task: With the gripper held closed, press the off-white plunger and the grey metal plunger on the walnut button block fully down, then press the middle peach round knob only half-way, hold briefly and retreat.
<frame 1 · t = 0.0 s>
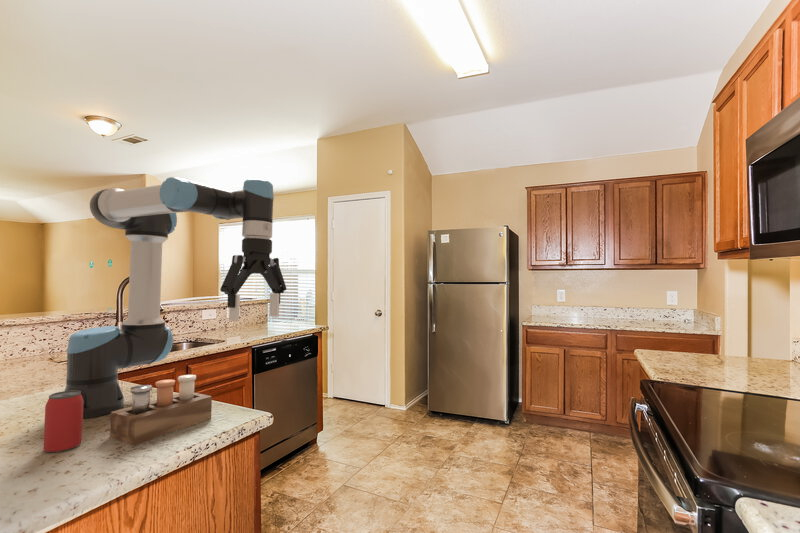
hand: (255, 318, 103), 28 cm above the counter, fingers open, 13 cm apart
plunger white: (186, 389, 106), point 8 cm above the counter, slide at 0.0 cm
button block: (163, 427, 100), on the counter
peach round knob: (165, 394, 101), point 8 cm above the counter, slide at 0.0 cm
beer can: (63, 448, 88), on the counter
plunger grey: (140, 401, 95), point 8 cm above the counter, slide at 0.0 cm
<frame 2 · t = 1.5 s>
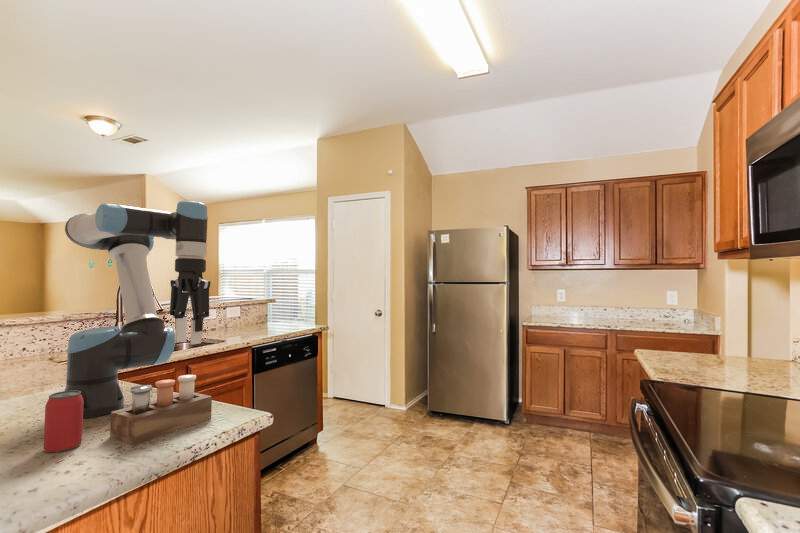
hand: (188, 342, 107), 21 cm above the counter, fingers open, 6 cm apart
nothing on the counter moved.
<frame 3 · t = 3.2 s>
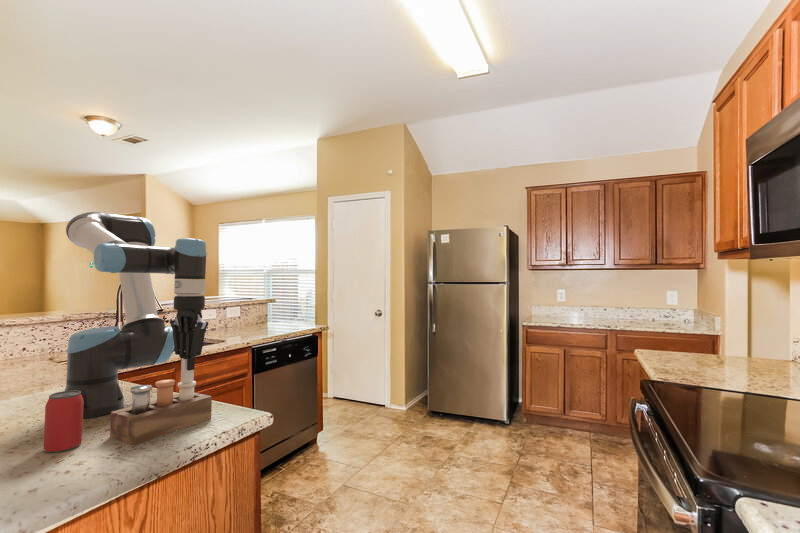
hand: (187, 381, 106), 10 cm above the counter, fingers closed
plunger white: (186, 395, 106), point 7 cm above the counter, slide at 1.6 cm, touching gripper
everything else where it was.
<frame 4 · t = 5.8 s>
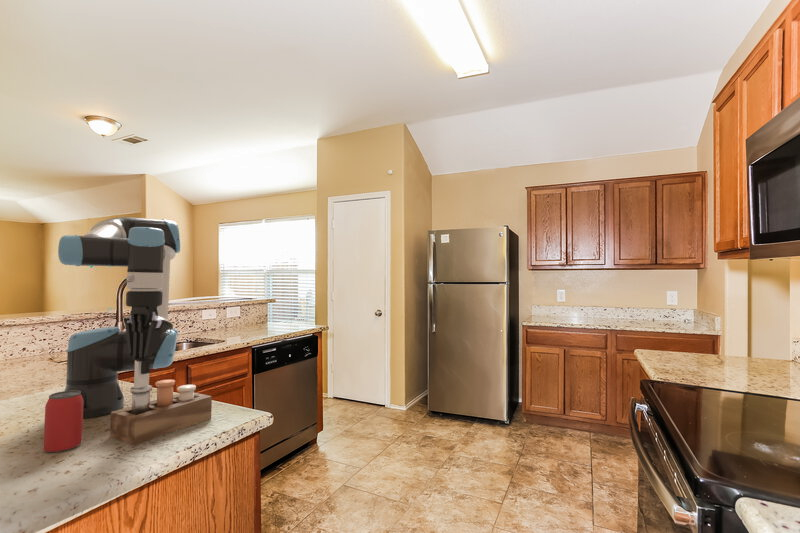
hand: (141, 386, 95), 12 cm above the counter, fingers closed
plunger white: (186, 399, 106), point 5 cm above the counter, slide at 2.8 cm
plunger grey: (140, 401, 95), point 8 cm above the counter, slide at 0.1 cm, touching gripper
everything else where it was.
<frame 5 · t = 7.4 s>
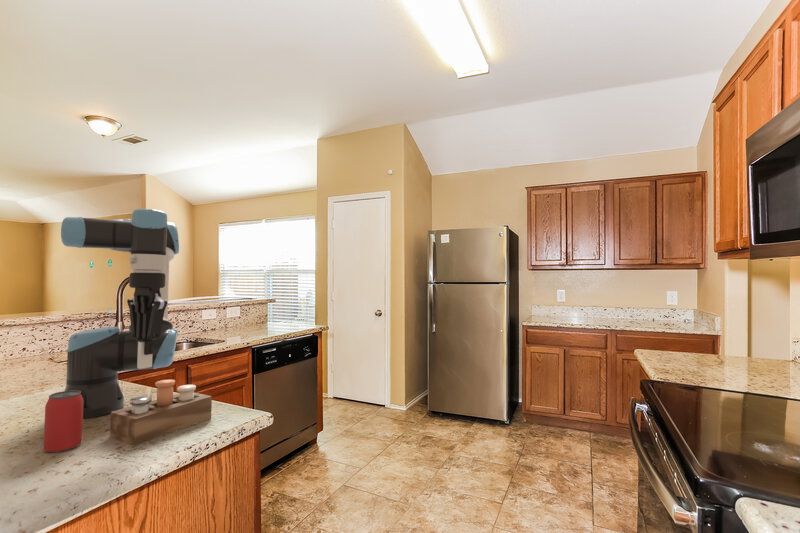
hand: (144, 367, 96), 16 cm above the counter, fingers closed
plunger grey: (140, 412, 95), point 5 cm above the counter, slide at 2.8 cm
everything else where it was.
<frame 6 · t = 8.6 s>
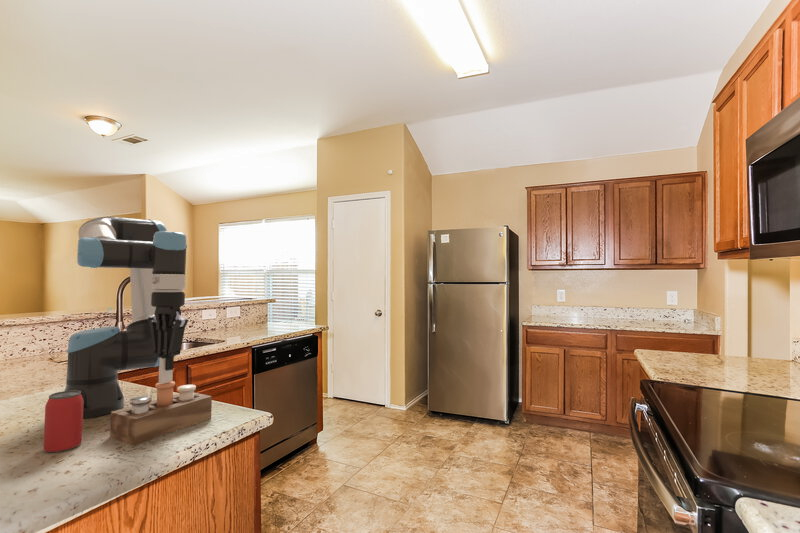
hand: (165, 382, 101), 11 cm above the counter, fingers closed
peach round knob: (165, 396, 101), point 8 cm above the counter, slide at 0.4 cm, touching gripper
everything else where it was.
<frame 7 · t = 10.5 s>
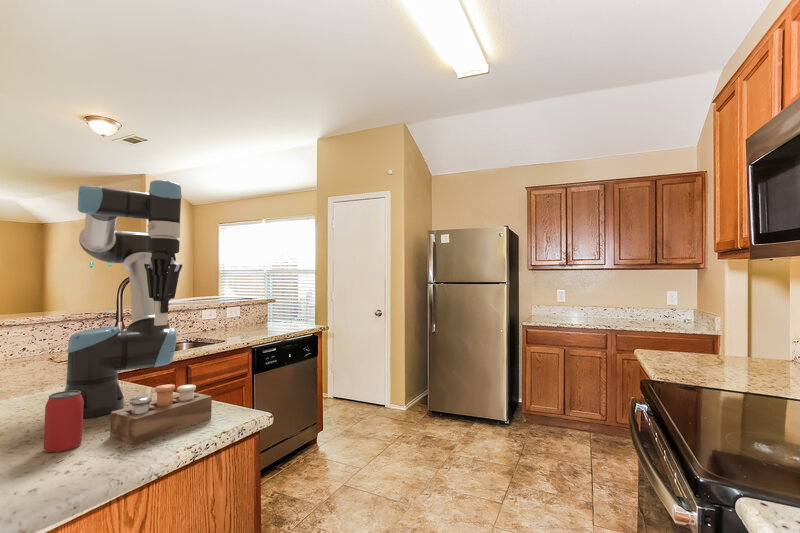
hand: (160, 324, 106), 26 cm above the counter, fingers closed
peach round knob: (164, 399, 101), point 7 cm above the counter, slide at 1.3 cm
everything else where it was.
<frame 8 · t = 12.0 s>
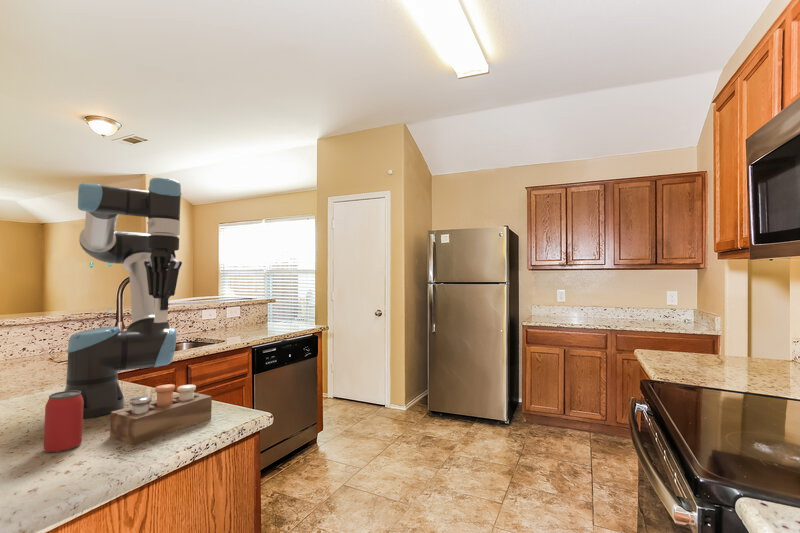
hand: (160, 322, 106), 26 cm above the counter, fingers closed
nothing on the counter moved.
at the end: plunger white slide at 2.8 cm; plunger grey slide at 2.8 cm; peach round knob slide at 1.3 cm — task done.
